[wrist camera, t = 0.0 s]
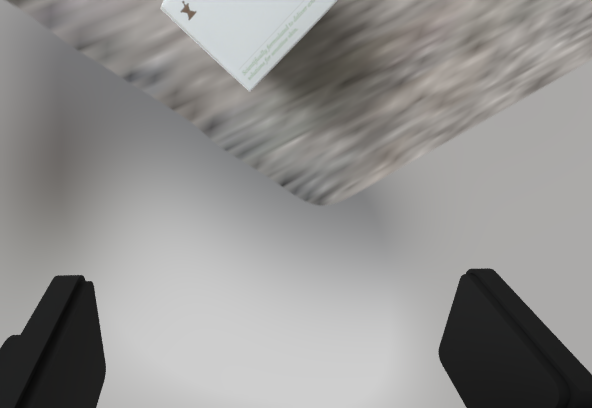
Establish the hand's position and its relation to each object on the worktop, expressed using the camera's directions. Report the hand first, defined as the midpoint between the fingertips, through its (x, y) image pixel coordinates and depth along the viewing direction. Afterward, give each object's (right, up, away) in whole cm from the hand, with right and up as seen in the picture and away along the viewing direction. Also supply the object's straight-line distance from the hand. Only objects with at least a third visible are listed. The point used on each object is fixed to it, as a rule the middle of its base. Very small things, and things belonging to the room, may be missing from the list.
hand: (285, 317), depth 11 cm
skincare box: (-4, +20, +25) cm, 32 cm away
